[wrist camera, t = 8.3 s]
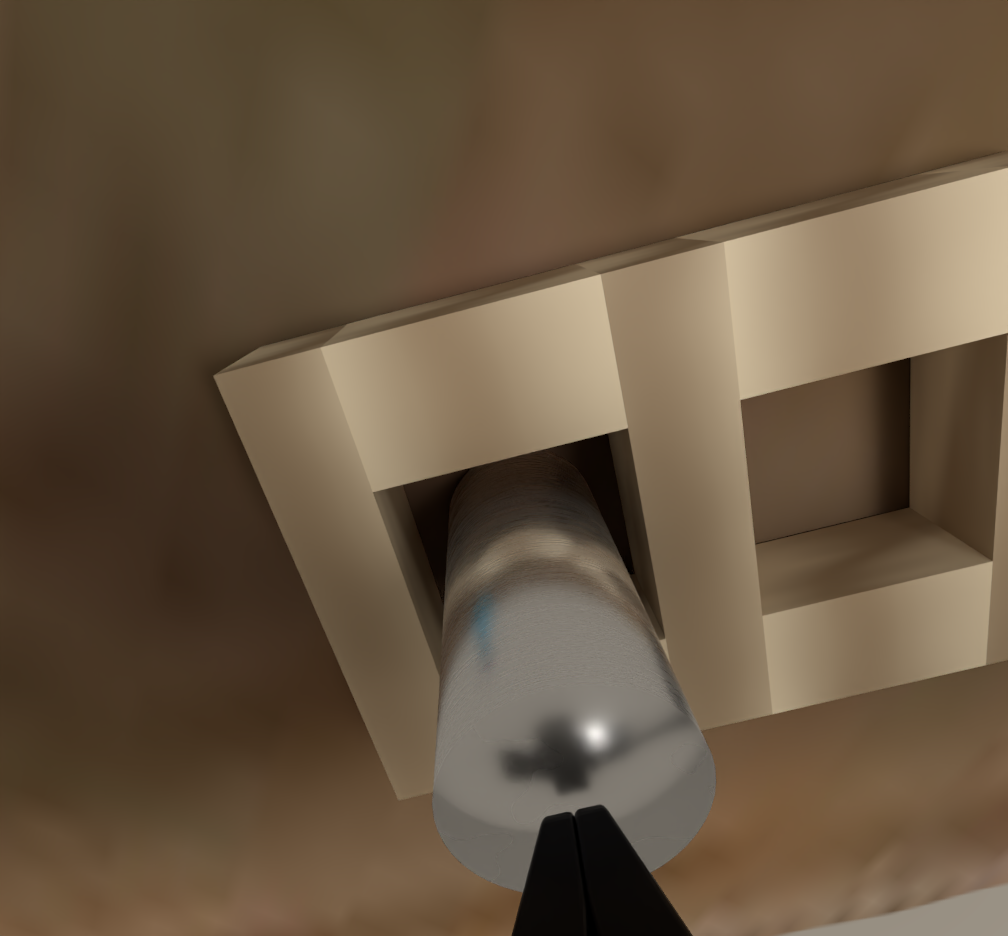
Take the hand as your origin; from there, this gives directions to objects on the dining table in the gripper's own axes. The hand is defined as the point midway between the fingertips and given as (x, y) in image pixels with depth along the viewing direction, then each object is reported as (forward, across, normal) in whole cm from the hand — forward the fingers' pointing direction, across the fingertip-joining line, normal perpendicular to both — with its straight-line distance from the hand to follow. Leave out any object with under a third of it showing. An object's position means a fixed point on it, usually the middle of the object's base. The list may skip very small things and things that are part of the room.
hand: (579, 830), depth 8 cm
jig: (+10, -4, 0) cm, 10 cm away
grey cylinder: (+10, 0, 0) cm, 10 cm away
